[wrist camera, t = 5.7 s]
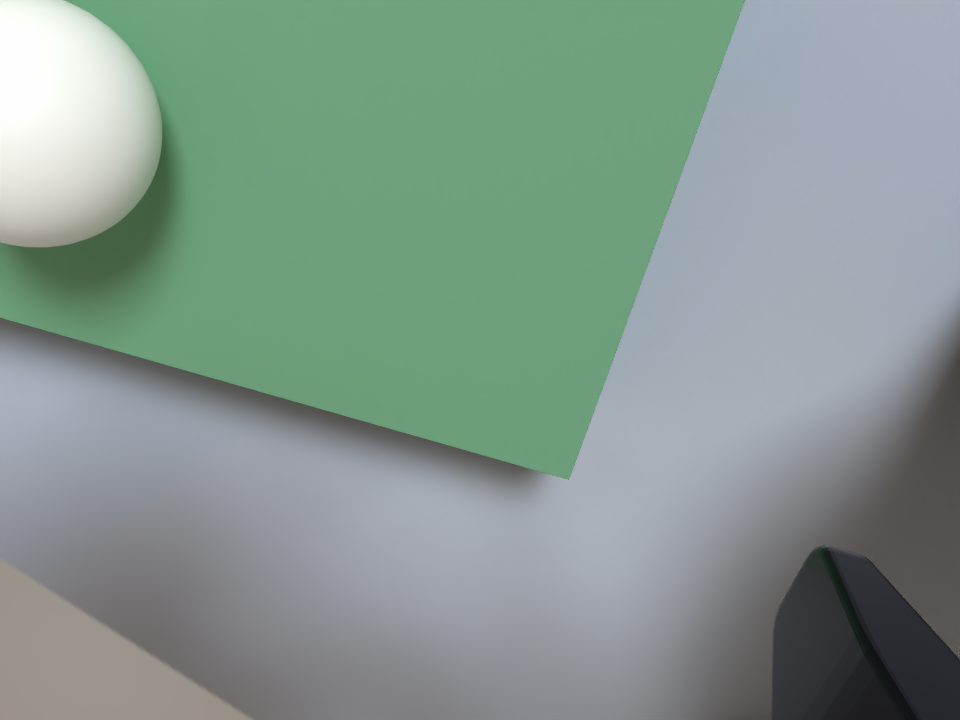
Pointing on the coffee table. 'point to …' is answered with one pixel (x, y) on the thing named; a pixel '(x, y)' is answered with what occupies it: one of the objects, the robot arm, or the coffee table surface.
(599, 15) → the putting mat
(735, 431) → the coffee table surface
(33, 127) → the ball
